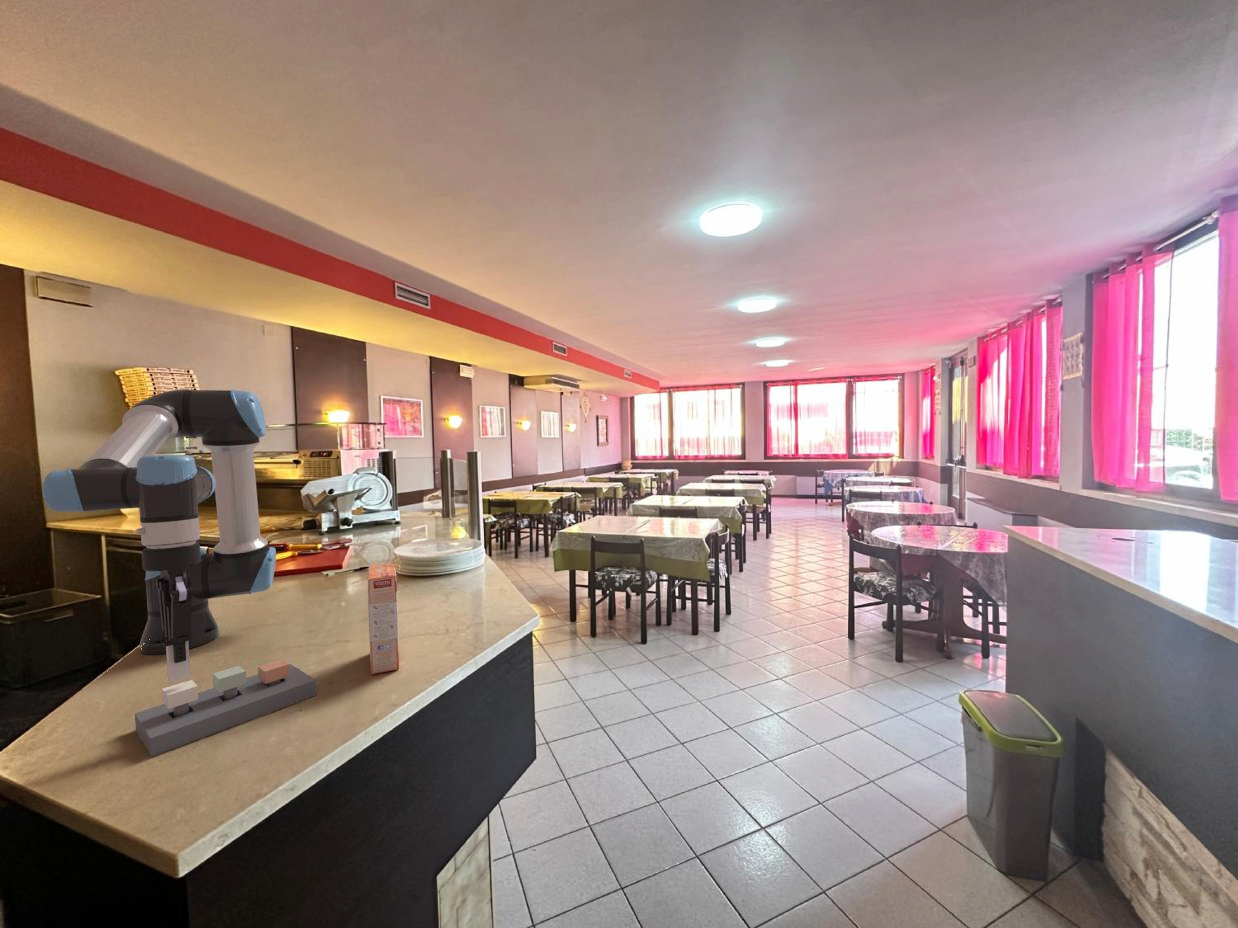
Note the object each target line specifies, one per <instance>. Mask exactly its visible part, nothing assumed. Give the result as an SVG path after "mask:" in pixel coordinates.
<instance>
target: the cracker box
mask: <svg viewBox="0 0 1238 928" xmlns="http://www.w3.org/2000/svg"><path fill="white" fill-rule="evenodd" d="M395 564H396V563H385V564H378V565H372V566H368V575H367V601H368V603H367V605H368V607H367V608H368V632H369V633H368V635H369V656H370V657H369V663H370V674H371V675H377V674H381V673H386V672H393V671H397V670H399V669H400V651H399V650H400V647H399V646H400V645H399V644H400V642H399V609H398V606H399V605H398V583H397V582H398V580H397V572H396V565H395Z"/></svg>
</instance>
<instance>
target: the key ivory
mask: <svg viewBox="0 0 1238 928" xmlns="http://www.w3.org/2000/svg"><path fill="white" fill-rule="evenodd" d="M161 691H162V693H161V695H162V704H165V706H166V707H167V708H168V709H171V708H173V710H174V718H175V717H178V716H181V715H184V714H187V713H189V702H192V701H195V700H198V693H199V686H198V685H197V684H196V683H195V681H194V680H192V679H190V680H187V681H184V682H181V683H177V684H173V685H171V686H166V687H163V688H161Z"/></svg>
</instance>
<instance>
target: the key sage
mask: <svg viewBox="0 0 1238 928" xmlns="http://www.w3.org/2000/svg"><path fill="white" fill-rule="evenodd" d="M246 678H247V671H246V670H245V669H244V668H242V667H241V666H240V665H237V666H234V667H230V668H226V669H224V670H221V671H216V672H213V673H212V684H213V685H212V686H213V688H216V689H217V690H218V691H219V692H223V693H224V701H226V700H229V699H232V698H235V697H237V687H238V686H241V685H244V684H246Z"/></svg>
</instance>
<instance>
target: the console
mask: <svg viewBox="0 0 1238 928" xmlns="http://www.w3.org/2000/svg"><path fill="white" fill-rule="evenodd" d="M288 664H289V676H288V677H285V678H282V679H280V682H279V683H276V684H273V685H270V686H268V683H267V684H265V683H264V682H262V681H261V680H260V679H259V678H258V673H257V674H254V675H251V676H246V684H244V685H241V686H238V687H237V697H235V698H232V699H229V700H226V701H224V693H223V692H219V691H218V690H217V689H216V688H215V687H213V688H210V689H207V690H204V691H200V692H198V700H195V701H192V702H189V713H187V714H184V715H181V716H178V717H175V718H174V710H173V708H171V709H168V708H167V707H166V706H165V704H164V703H162V704H159V705H156V706H153V707H149V708H147V709H144V710H141V711H137V712H134V721H135V731H136V733H137V735H138V736H139V738H140V740H141V741H142V742H143V744H144V746H145V748H146V750H147V752H148V754H149V755H150V757H155V756H158V755H160V754H163V753H165V752H168V751H170V750H173V749H176V748H179V747H181V746H184V745H187V744H189V743H192V742H195V741H197V740H201V739H203V738H205V737H207V736H208V737H209V736H211V735H213V734H215V733H216V734H217V733H219V732H222V731H224V730H226V729H231V728H232V727H234V726H237V725H240V724H243V723H245V722H249V721H252V720H253V719H257V718H259V717H262V716H265V715H267V714H270V713H273V712H275V711H277V710H279V709H280V710H281V709H282V708H283V709H284V708H286V707H288V706H290V705H293V704H297V703H299V702H302V701H304V700H306V699H309V698H312V697H314V696H317V682H316V679H315V678H313V677H311V676H310V675H309V674H307V673H306V672H304V671H302V670H301V669H300V668H298V667H296V666H295V665H293V664H291V663H288Z"/></svg>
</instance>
